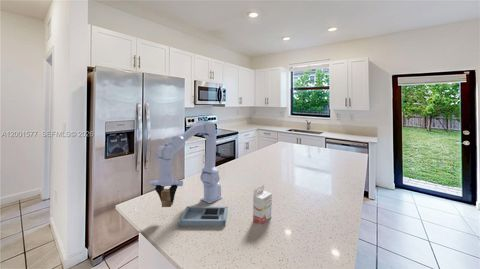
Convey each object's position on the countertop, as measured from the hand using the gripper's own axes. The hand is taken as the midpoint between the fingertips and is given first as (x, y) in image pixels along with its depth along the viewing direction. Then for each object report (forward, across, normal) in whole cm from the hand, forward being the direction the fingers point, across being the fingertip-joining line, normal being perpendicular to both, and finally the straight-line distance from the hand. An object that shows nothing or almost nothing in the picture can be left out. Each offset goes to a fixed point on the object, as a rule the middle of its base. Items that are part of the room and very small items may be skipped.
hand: (167, 200), depth 96 cm
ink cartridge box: (+9, +44, 0) cm, 44 cm away
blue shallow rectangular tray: (+9, +17, 0) cm, 19 cm away
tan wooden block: (+2, 0, 0) cm, 2 cm away
